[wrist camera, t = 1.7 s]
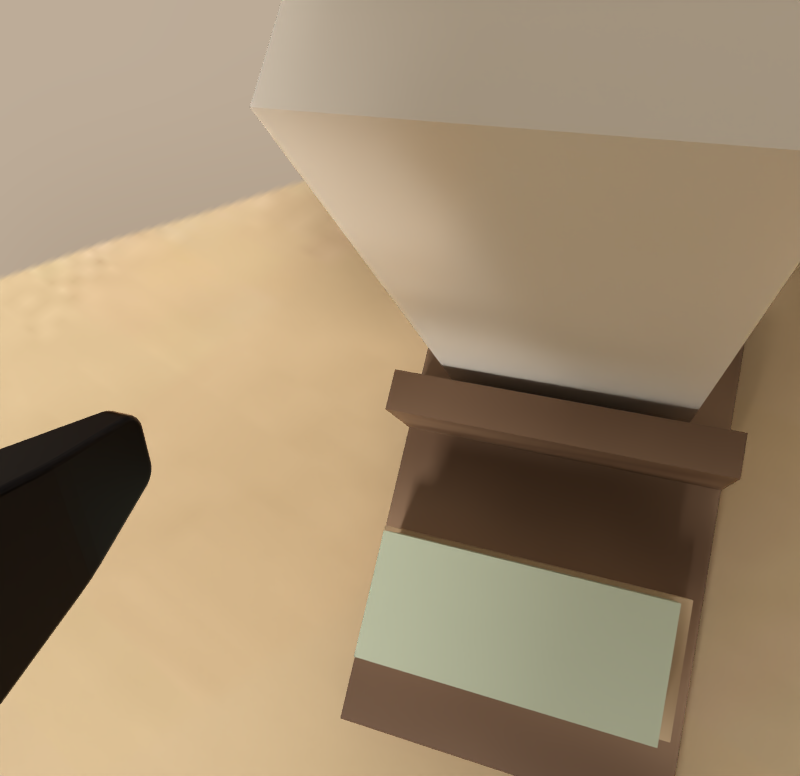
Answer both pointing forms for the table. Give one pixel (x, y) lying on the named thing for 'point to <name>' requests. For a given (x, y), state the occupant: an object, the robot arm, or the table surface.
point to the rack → (550, 543)
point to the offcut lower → (685, 603)
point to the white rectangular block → (555, 178)
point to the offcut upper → (522, 635)
